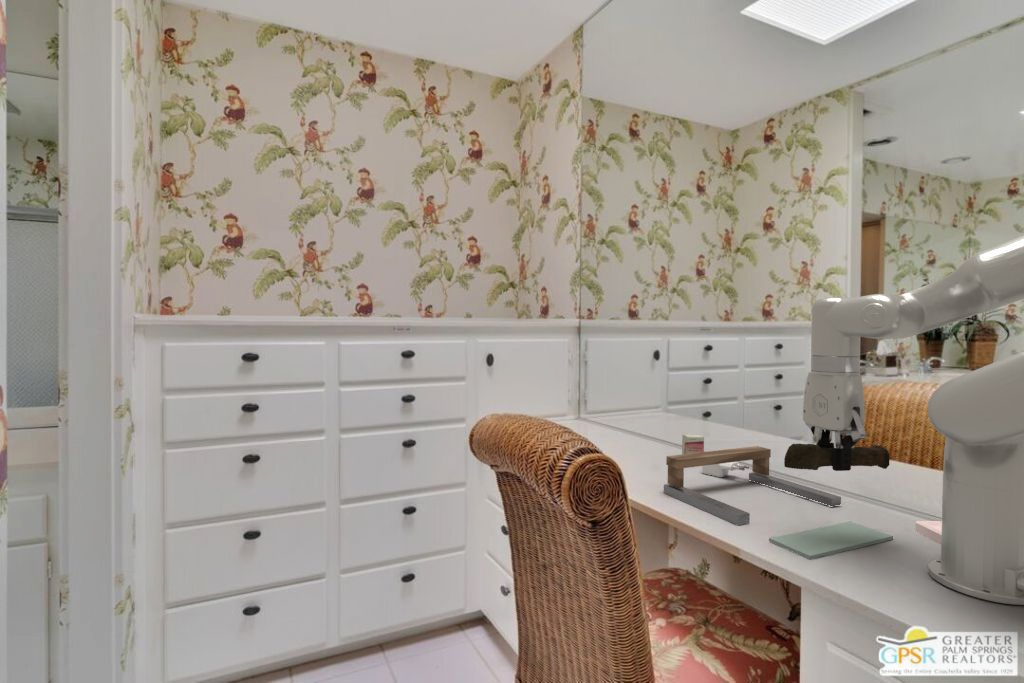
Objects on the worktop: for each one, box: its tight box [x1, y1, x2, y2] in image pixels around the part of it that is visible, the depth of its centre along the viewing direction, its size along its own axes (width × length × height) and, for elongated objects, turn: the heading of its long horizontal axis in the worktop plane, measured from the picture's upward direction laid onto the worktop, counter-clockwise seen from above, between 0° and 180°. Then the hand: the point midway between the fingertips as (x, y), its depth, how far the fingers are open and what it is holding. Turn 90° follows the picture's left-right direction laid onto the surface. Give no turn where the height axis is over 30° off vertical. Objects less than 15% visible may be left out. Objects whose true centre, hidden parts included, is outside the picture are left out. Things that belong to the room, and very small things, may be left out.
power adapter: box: [701, 450, 750, 478], centre depth 136 cm, size 11×5×6 cm, turn 43°
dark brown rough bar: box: [783, 443, 891, 471], centre depth 95 cm, size 19×4×5 cm, turn 93°
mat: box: [768, 521, 894, 560], centre depth 95 cm, size 8×22×1 cm, turn 113°
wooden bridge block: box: [666, 445, 772, 488], centre depth 126 cm, size 4×29×6 cm, turn 113°
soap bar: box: [914, 520, 942, 545], centre depth 95 cm, size 5×9×2 cm, turn 179°
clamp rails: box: [663, 472, 842, 526], centre depth 118 cm, size 22×30×2 cm
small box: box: [681, 433, 705, 455], centre depth 151 cm, size 5×4×8 cm
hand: (833, 466), depth 94 cm, fingers closed on dark brown rough bar, 3 cm apart
